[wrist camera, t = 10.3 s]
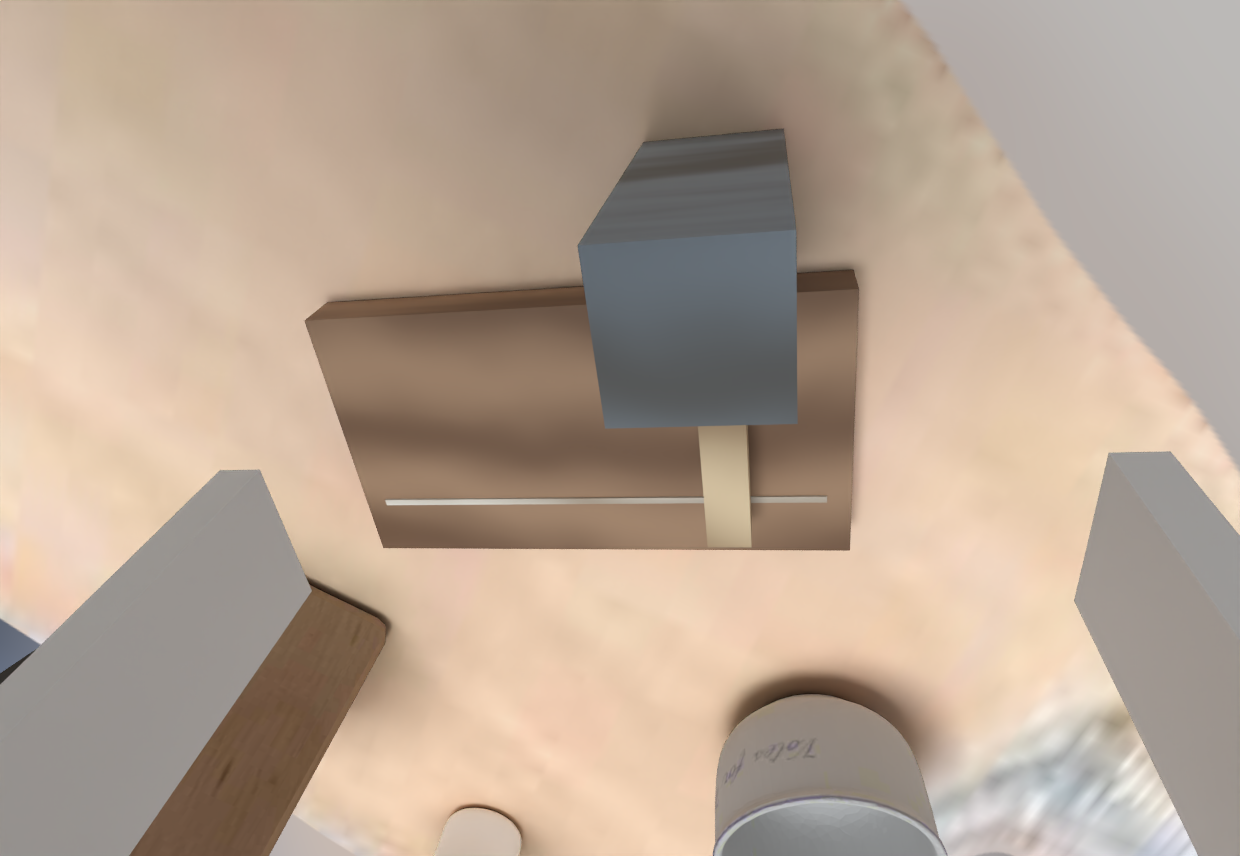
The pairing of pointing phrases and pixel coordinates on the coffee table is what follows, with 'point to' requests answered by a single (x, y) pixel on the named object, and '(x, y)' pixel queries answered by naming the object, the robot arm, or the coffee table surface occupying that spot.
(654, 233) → the grey block
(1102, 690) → the coffee table surface
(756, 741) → the teacup
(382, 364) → the board
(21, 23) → the coffee table surface
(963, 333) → the coffee table surface
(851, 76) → the coffee table surface
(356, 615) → the wooden block
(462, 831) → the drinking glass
